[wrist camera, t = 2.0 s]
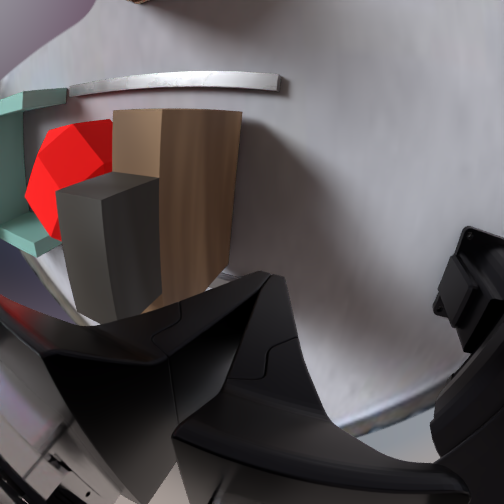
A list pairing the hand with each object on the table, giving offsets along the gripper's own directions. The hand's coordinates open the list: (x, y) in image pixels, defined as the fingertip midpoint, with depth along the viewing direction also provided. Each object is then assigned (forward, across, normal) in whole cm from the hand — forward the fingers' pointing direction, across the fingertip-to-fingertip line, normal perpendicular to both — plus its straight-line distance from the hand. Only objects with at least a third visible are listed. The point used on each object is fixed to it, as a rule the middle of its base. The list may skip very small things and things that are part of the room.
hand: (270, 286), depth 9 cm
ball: (+10, +15, 0) cm, 18 cm away
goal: (+10, +27, 0) cm, 29 cm away
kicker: (+10, +6, 0) cm, 12 cm away
